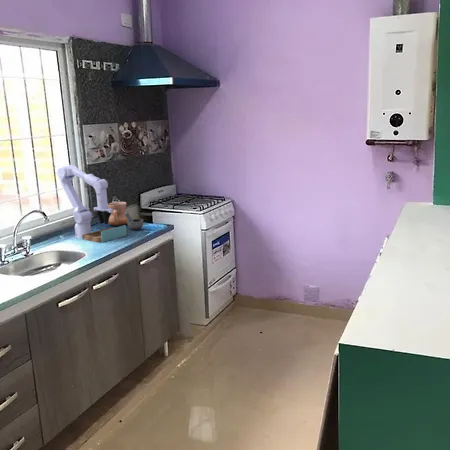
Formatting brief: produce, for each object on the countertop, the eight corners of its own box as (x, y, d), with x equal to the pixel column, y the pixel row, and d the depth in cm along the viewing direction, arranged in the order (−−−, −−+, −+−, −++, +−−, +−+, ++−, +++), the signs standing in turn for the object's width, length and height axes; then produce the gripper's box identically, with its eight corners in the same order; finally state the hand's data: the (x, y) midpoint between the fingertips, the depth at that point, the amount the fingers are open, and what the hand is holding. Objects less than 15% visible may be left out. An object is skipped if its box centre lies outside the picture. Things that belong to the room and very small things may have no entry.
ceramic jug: (110, 222, 356) (108, 201, 352) (132, 221, 355) (130, 200, 352) (104, 228, 338) (101, 206, 335) (126, 227, 337) (124, 205, 334)
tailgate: (101, 242, 298) (100, 231, 297) (125, 235, 312) (124, 225, 311) (102, 242, 298) (101, 231, 296) (126, 235, 311) (125, 225, 310)
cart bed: (82, 241, 307) (81, 235, 306) (110, 233, 323) (110, 227, 322) (99, 245, 297) (99, 238, 297) (127, 236, 314) (127, 230, 313)
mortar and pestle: (145, 229, 330) (144, 210, 328) (142, 233, 321) (140, 213, 318) (127, 230, 331) (126, 211, 328) (124, 233, 322) (122, 214, 319)
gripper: (115, 200, 303) (118, 223, 306) (99, 198, 312) (101, 221, 315) (106, 202, 298) (108, 226, 301) (89, 200, 307) (92, 223, 310)
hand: (104, 223), depth 308 cm, fingers open, 3 cm apart
